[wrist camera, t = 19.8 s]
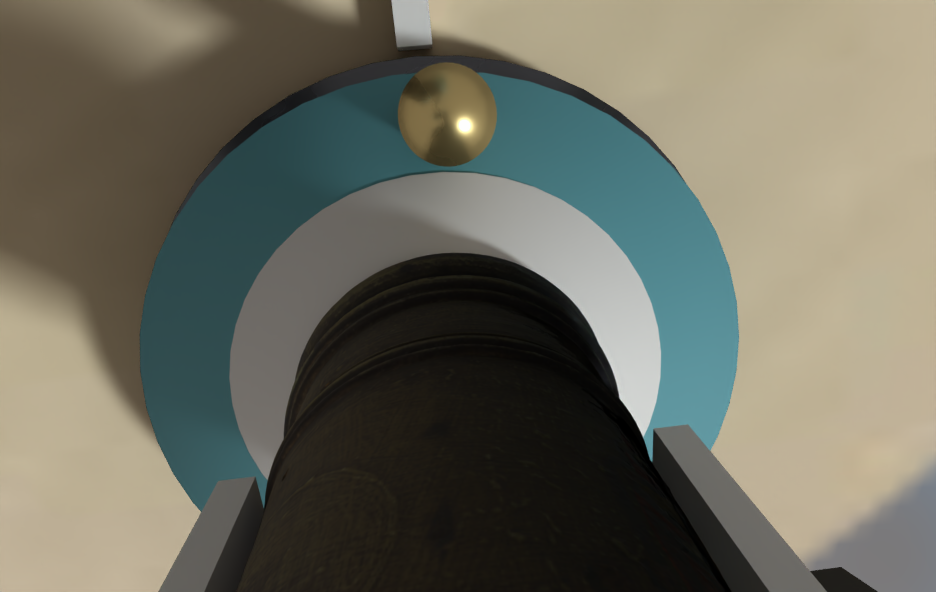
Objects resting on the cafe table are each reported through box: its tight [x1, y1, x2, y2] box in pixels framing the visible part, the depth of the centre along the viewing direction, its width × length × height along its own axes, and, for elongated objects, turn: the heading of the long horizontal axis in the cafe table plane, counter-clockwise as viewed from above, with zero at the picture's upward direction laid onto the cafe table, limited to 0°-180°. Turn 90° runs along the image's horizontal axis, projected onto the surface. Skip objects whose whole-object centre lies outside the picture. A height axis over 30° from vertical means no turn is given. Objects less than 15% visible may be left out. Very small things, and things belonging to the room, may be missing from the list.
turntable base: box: [169, 0, 685, 231], centre depth 19 cm, size 22×19×2 cm
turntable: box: [140, 62, 739, 512], centre depth 16 cm, size 18×18×6 cm
